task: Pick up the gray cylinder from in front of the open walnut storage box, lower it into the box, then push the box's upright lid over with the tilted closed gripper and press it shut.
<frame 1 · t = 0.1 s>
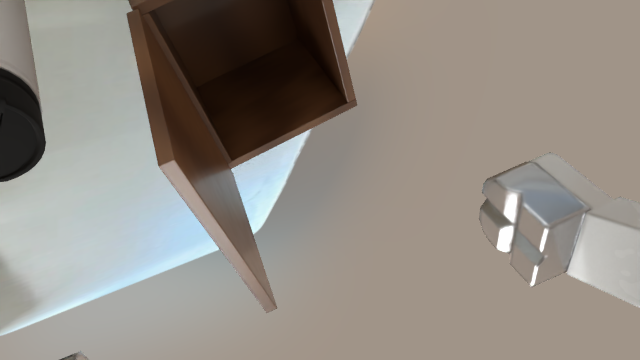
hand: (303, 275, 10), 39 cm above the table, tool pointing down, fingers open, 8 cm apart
box lid: (206, 170, 35), point 19 cm above the table, hinge at 95.0°
when the fingers open (6 cm above the table, at t = 14.0 s): gray cylinder stays where it is, resting on storage box.
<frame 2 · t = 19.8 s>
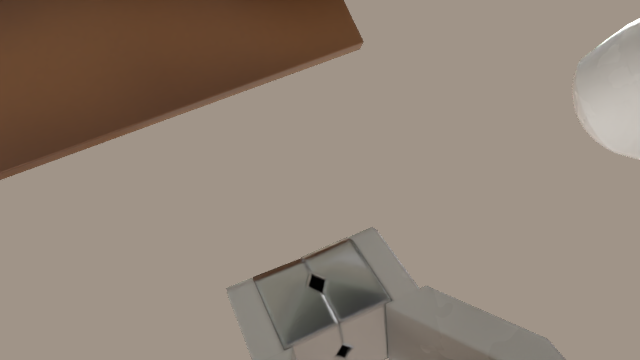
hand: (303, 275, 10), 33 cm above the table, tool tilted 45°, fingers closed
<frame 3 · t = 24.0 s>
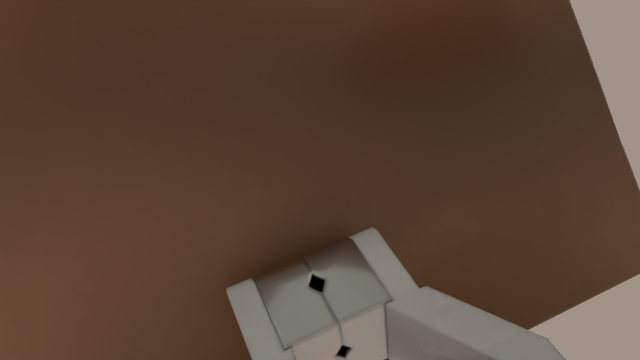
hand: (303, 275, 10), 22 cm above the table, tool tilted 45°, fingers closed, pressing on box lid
box lid: (232, 114, 11), point 19 cm above the table, hinge at 88.1°, touching gripper
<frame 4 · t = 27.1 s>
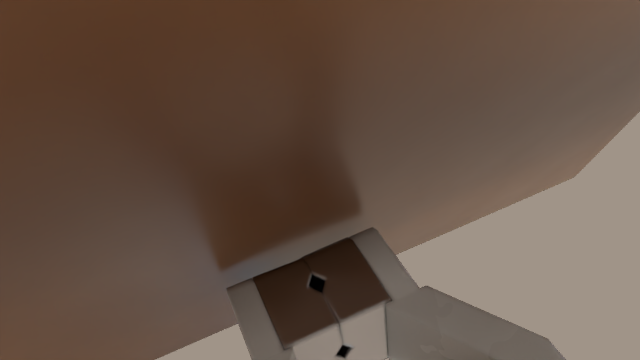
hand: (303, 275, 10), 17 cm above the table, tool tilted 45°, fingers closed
box lid: (287, 142, 7), point 15 cm above the table, hinge at 23.7°, touching gripper
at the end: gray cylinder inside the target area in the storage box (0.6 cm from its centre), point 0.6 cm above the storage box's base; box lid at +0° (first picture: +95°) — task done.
